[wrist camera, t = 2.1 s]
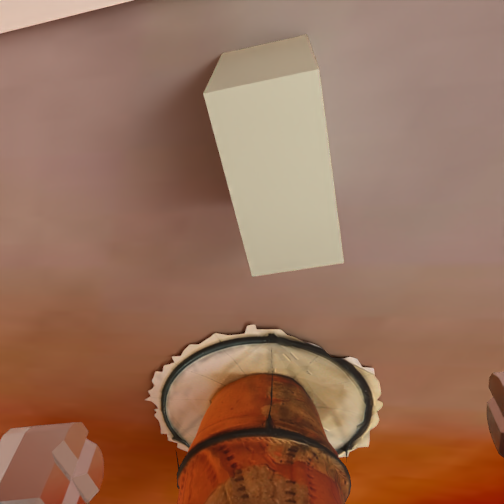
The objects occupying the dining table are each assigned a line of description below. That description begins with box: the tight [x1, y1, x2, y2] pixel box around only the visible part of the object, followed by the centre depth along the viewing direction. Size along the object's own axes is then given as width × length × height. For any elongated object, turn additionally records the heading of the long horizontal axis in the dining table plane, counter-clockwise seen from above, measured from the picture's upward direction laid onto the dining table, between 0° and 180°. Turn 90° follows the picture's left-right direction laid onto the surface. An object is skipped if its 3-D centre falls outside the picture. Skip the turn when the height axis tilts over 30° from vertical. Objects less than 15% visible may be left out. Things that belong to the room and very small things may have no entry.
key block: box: [203, 34, 344, 277], centre depth 21 cm, size 4×8×7 cm, turn 12°
